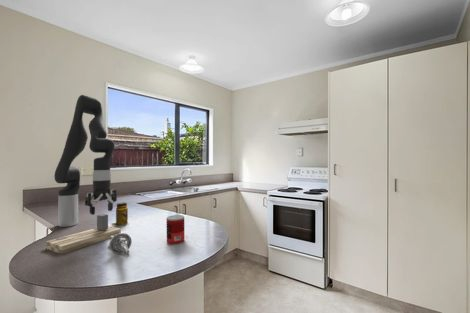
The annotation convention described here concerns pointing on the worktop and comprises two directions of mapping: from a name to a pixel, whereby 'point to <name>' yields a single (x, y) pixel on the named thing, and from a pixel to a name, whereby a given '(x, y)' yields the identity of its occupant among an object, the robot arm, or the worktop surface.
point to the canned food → (175, 229)
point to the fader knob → (102, 222)
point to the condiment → (121, 215)
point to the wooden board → (80, 239)
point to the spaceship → (120, 243)
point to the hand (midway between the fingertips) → (101, 212)
